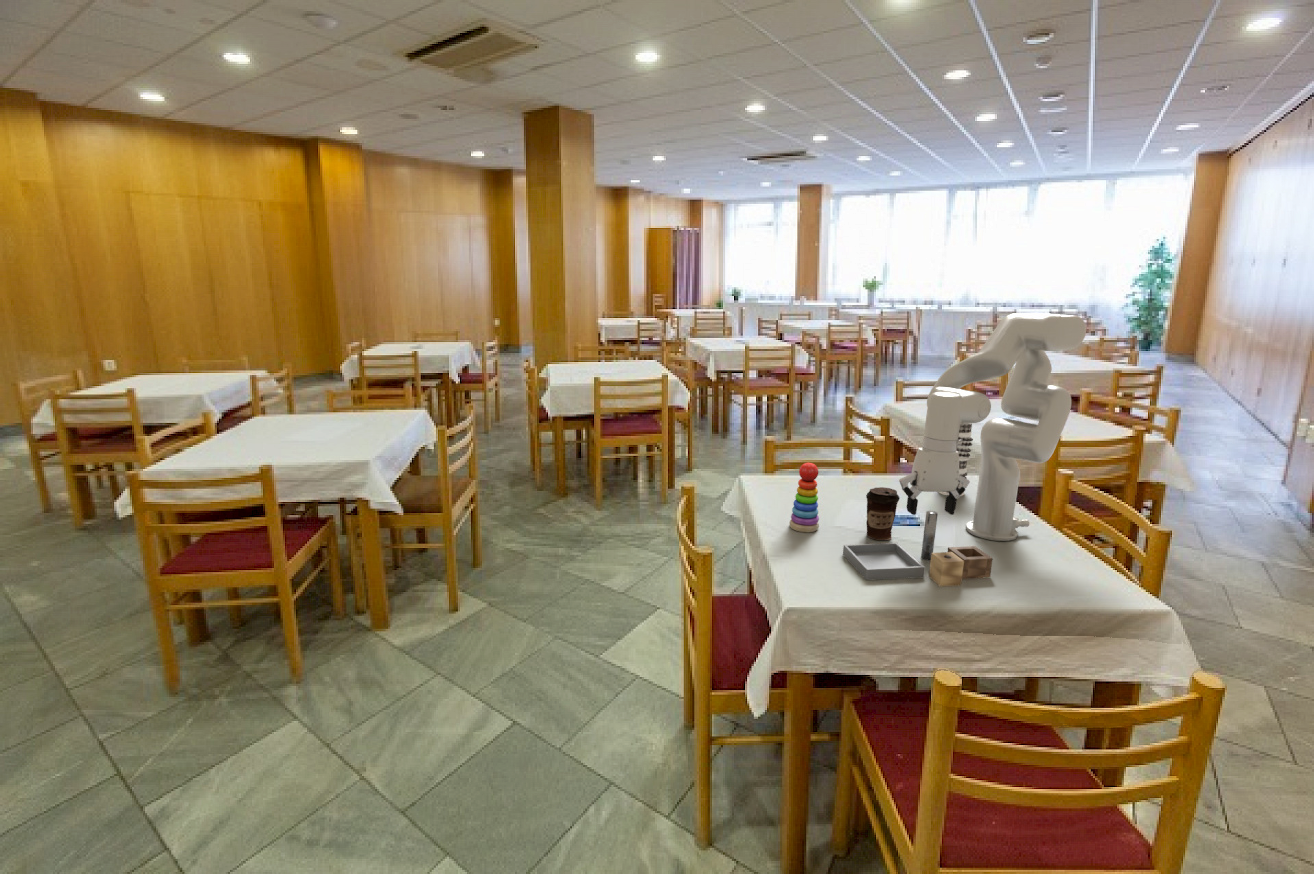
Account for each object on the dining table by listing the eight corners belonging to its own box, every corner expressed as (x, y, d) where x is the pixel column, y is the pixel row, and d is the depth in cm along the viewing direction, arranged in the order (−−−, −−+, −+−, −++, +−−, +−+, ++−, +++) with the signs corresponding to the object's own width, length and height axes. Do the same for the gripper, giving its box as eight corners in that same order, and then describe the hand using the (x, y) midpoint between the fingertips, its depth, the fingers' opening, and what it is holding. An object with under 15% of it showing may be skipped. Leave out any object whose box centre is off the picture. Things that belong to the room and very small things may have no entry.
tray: (896, 552, 168) (897, 542, 167) (923, 577, 155) (925, 567, 154) (842, 554, 166) (843, 544, 166) (866, 579, 153) (867, 569, 152)
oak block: (948, 575, 156) (952, 551, 154) (960, 585, 151) (964, 561, 149) (928, 576, 155) (931, 552, 154) (939, 586, 150) (943, 561, 149)
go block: (972, 565, 162) (975, 546, 160) (989, 578, 155) (992, 558, 154) (945, 566, 161) (947, 547, 160) (961, 579, 154) (964, 559, 153)
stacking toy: (783, 528, 183) (787, 462, 178) (798, 520, 189) (802, 456, 184) (809, 535, 178) (814, 468, 173) (823, 527, 184) (828, 462, 179)
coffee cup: (897, 544, 173) (902, 497, 169) (864, 541, 174) (868, 494, 171) (892, 531, 181) (897, 486, 178) (861, 529, 183) (865, 484, 179)
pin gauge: (928, 555, 166) (934, 510, 163) (934, 560, 164) (939, 514, 161) (918, 556, 166) (924, 510, 163) (924, 560, 163) (929, 514, 160)
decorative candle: (931, 492, 213) (940, 416, 207) (939, 485, 220) (948, 411, 214) (961, 498, 208) (971, 420, 201) (968, 491, 215) (978, 415, 208)
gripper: (965, 441, 162) (955, 507, 166) (897, 440, 160) (889, 507, 164) (983, 448, 155) (972, 518, 159) (912, 448, 153) (903, 518, 157)
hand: (930, 512), depth 161 cm, fingers open, 9 cm apart
